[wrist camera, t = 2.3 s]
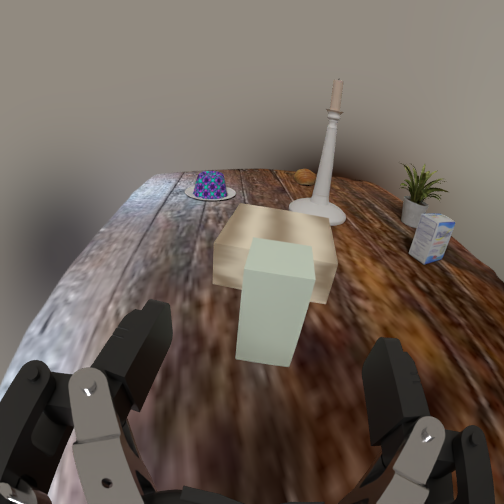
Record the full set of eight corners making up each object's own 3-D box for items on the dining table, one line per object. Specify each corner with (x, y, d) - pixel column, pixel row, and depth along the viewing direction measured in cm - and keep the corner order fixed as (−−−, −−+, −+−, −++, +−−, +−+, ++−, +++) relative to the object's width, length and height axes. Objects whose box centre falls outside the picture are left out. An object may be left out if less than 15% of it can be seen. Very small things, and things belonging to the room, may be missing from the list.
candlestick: (303, 199, 67) (320, 80, 52) (351, 215, 61) (375, 89, 46) (278, 211, 57) (296, 68, 43) (334, 231, 52) (362, 76, 37)
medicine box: (423, 265, 43) (439, 223, 39) (407, 253, 47) (421, 212, 42) (441, 260, 46) (456, 221, 42) (426, 249, 50) (439, 212, 45)
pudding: (175, 192, 63) (176, 171, 61) (215, 185, 71) (216, 166, 68) (203, 207, 56) (204, 183, 54) (246, 197, 64) (248, 176, 61)
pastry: (317, 188, 78) (319, 176, 76) (294, 185, 78) (296, 173, 77) (313, 180, 86) (315, 169, 84) (293, 177, 87) (294, 166, 85)
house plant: (398, 233, 55) (417, 163, 47) (374, 209, 67) (387, 150, 59) (440, 238, 56) (459, 177, 48) (413, 216, 68) (428, 162, 60)
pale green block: (290, 329, 28) (311, 246, 23) (289, 366, 24) (315, 279, 19) (243, 322, 28) (253, 237, 23) (235, 358, 24) (243, 269, 19)
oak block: (320, 251, 44) (328, 218, 41) (325, 305, 32) (337, 264, 29) (237, 237, 46) (240, 203, 43) (212, 285, 34) (213, 243, 31)
